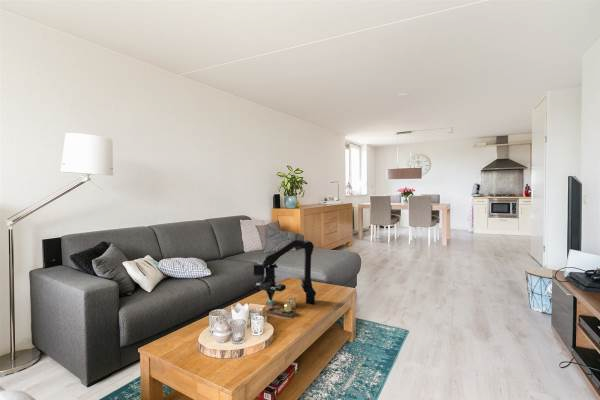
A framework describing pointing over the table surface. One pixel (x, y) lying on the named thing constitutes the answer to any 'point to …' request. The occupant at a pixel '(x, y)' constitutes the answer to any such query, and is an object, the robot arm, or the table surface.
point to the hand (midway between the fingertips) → (270, 299)
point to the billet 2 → (292, 302)
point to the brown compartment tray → (280, 313)
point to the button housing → (270, 303)
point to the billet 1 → (287, 308)
